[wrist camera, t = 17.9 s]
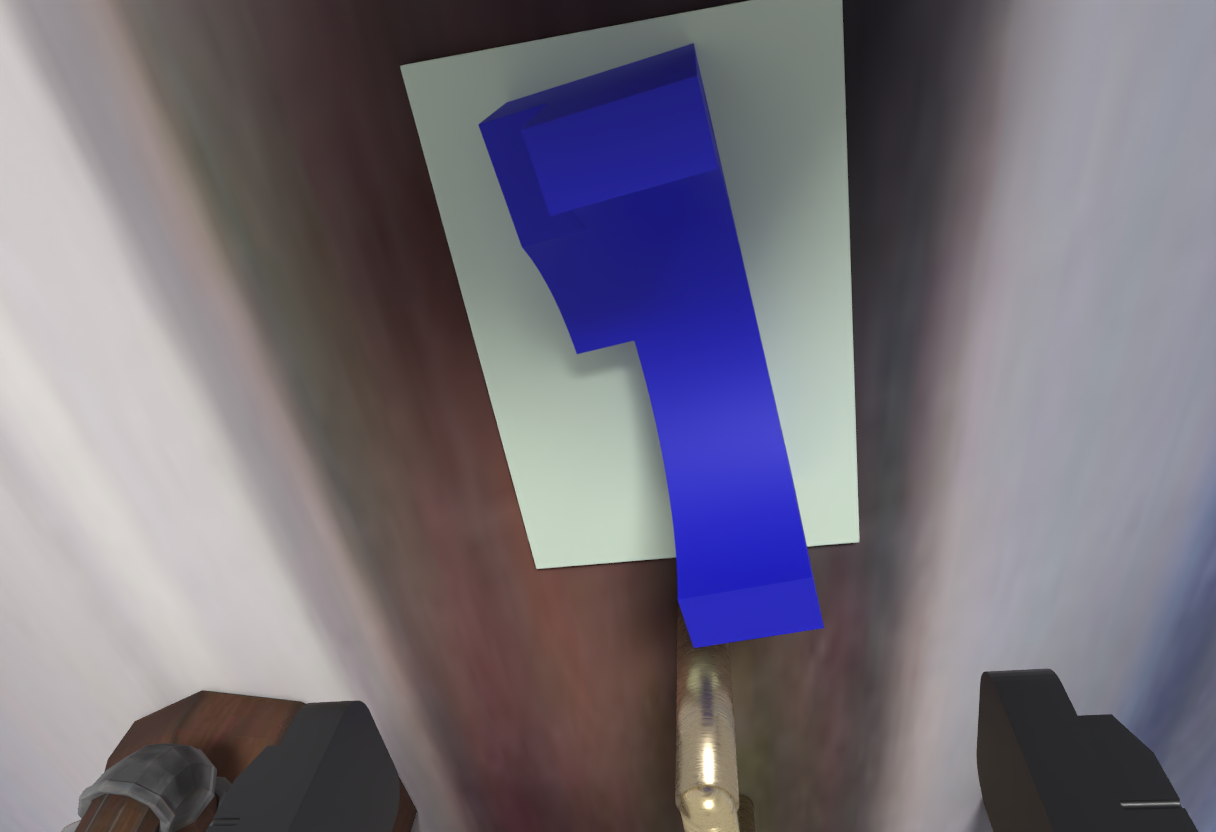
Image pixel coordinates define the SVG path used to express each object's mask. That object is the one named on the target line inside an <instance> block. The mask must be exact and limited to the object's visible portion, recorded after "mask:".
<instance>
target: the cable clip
mask: <svg viewBox="0 0 1216 832" xmlns="http://www.w3.org/2000/svg"><path fill="white" fill-rule="evenodd" d="M478 125H479V128H480V131H481V134H482V137H483V139H484V142H485V145H486V148H487V151H488V154H489V156H490V159H491V162H492V165H493V168H494V170H495V173H496V176H497V179H498V182H499V184H500V187H501V190H502V193H503V196H504V199H505V201H506V204H507V207H508V210H509V213H510V215H511V218H512V221H513V224H514V227H515V229H516V232H517V235H518V238H519V241H520V244H521V246H522V248H523V249H524V250H525V252H526V253H527V254H528V256H529V257H530V258H531V260H532V261H533V263H534V264H535V266H536V267H537V269H538V270H539V272H540V273H541V275H542V277H543V279H544V280H545V282H546V284H547V286H548V288H549V290H550V292H551V293H552V295H553V297H554V299H555V302H556V304H557V306H558V308H559V310H560V312H561V315H562V317H563V320H564V322H565V324H566V327H567V329H568V332H569V334H570V337H571V340H572V342H573V345H574V348H575V350H576V353H577V354H580V353H585V352H589V351H593V350H597V349H601V348H605V347H609V346H614V345H618V344H622V343H626V342H630V341H634V342H635V345H636V348H637V352H638V355H639V359H640V362H641V366H642V370H643V373H644V377H645V381H646V385H647V389H648V393H649V397H650V401H651V405H652V409H653V414H654V418H655V422H656V427H657V432H658V436H659V441H660V446H661V451H662V457H663V462H664V468H665V473H666V479H667V485H668V492H669V498H670V505H671V512H672V520H673V529H674V538H675V549H676V562H677V582H678V602H679V605H680V608H681V611H682V614H683V617H684V620H685V623H686V626H687V629H688V632H689V635H690V638H691V641H692V644H693V647H694V648H698V647H704V646H711V645H717V644H724V643H730V642H737V641H743V640H749V639H756V638H762V637H769V636H775V635H781V634H788V633H794V632H801V631H807V630H814V629H820V628H824V626H823V621H822V616H821V611H820V606H819V602H818V597H817V592H816V587H815V582H814V578H813V573H812V568H811V563H810V558H809V554H808V549H807V544H806V539H805V534H804V530H803V525H802V520H801V515H800V510H799V506H798V501H797V496H796V491H795V486H794V482H793V477H792V473H791V468H790V464H789V459H788V455H787V451H786V446H785V442H784V437H783V433H782V429H781V424H780V420H779V416H778V411H777V407H776V402H775V398H774V394H773V389H772V385H771V380H770V376H769V372H768V367H767V363H766V358H765V354H764V350H763V345H762V341H761V336H760V332H759V328H758V323H757V319H756V314H755V310H754V306H753V301H752V297H751V293H750V288H749V284H748V279H747V275H746V271H745V266H744V262H743V257H742V253H741V249H740V244H739V240H738V235H737V231H736V227H735V222H734V218H733V213H732V209H731V205H730V200H729V196H728V191H727V187H726V183H725V178H724V174H723V170H722V165H721V161H720V156H719V152H718V148H717V143H716V139H715V134H714V130H713V126H712V121H711V117H710V112H709V108H708V104H707V99H706V95H705V90H704V86H703V82H702V77H701V73H700V68H699V64H698V60H697V55H696V51H695V47H694V43H693V44H689V45H686V46H683V47H680V48H677V49H674V50H670V51H667V52H664V53H661V54H658V55H655V56H651V57H648V58H645V59H642V60H639V61H636V62H633V63H629V64H626V65H623V66H620V67H617V68H614V69H610V70H607V71H604V72H601V73H598V74H595V75H591V76H588V77H585V78H582V79H579V80H576V81H573V82H569V83H566V84H563V85H560V86H557V87H554V88H550V89H547V90H544V91H541V92H538V93H535V94H531V95H528V96H525V97H522V98H519V99H516V100H513V101H509V102H506V103H505V104H504V105H503V106H501V107H500V108H499V109H497V110H496V111H495V112H494V113H492V114H491V115H490V116H488V117H487V118H486V119H485V120H483V121H482V122H481V123H480V124H478Z"/></svg>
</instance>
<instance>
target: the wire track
mask: <svg viewBox="0 0 1216 832" xmlns="http://www.w3.org/2000/svg"><path fill="white" fill-rule="evenodd" d="M676 807H677V809H678V810H679V812H680V813H681V815H682V820H683V825H684V830H685V832H755V821H754V809H753V803H752V801H751V800H750V799H749V798H748V797H746V796H744V795H742V794H739V789H738V774H737V759H736V743H735V728H734V713H733V697H732V682H731V667H730V651H729V643H724V644H717V645H711V646H704V647H698V648H694V647H693V644H692V641H691V638H690V635H689V632H688V629H687V626H686V623H685V620H684V617H683V614H682V611H681V608H680V605H678V620H677V711H676Z"/></svg>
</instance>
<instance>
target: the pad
mask: <svg viewBox="0 0 1216 832" xmlns="http://www.w3.org/2000/svg"><path fill="white" fill-rule="evenodd" d="M693 43H694V47H695V51H696V55H697V60H698V64H699V68H700V73H701V77H702V82H703V86H704V90H705V95H706V99H707V104H708V108H709V112H710V117H711V121H712V126H713V130H714V134H715V139H716V143H717V148H718V152H719V156H720V161H721V165H722V170H723V174H724V178H725V183H726V187H727V191H728V196H729V200H730V205H731V209H732V213H733V218H734V222H735V227H736V231H737V235H738V240H739V244H740V249H741V253H742V257H743V262H744V266H745V271H746V275H747V279H748V284H749V288H750V293H751V297H752V301H753V306H754V310H755V314H756V319H757V323H758V328H759V332H760V336H761V341H762V345H763V350H764V354H765V358H766V363H767V367H768V372H769V376H770V380H771V385H772V389H773V394H774V398H775V402H776V407H777V411H778V416H779V420H780V424H781V429H782V433H783V437H784V442H785V446H786V451H787V455H788V459H789V464H790V468H791V473H792V477H793V482H794V486H795V491H796V496H797V501H798V506H799V510H800V515H801V520H802V525H803V530H804V534H805V539H806V544H807V546H819V545H831V544H843V543H855V542H859V516H858V484H857V452H856V420H855V388H854V357H853V325H852V293H851V261H850V229H849V198H848V166H847V134H846V102H845V70H844V38H843V7H842V0H748V1H742V2H737V3H732V4H726V5H721V6H716V7H710V8H705V9H700V10H694V11H689V12H684V13H678V14H673V15H668V16H662V17H657V18H652V19H646V20H641V21H636V22H630V23H625V24H619V25H614V26H609V27H603V28H598V29H593V30H587V31H582V32H577V33H571V34H566V35H561V36H555V37H550V38H545V39H539V40H534V41H529V42H523V43H518V44H513V45H507V46H502V47H496V48H491V49H486V50H480V51H475V52H470V53H464V54H459V55H454V56H448V57H443V58H438V59H432V60H427V61H422V62H416V63H411V64H406V65H402V66H400V68H401V72H402V76H403V79H404V83H405V87H406V90H407V94H408V98H409V101H410V105H411V109H412V112H413V116H414V120H415V124H416V127H417V131H418V135H419V138H420V142H421V146H422V149H423V153H424V157H425V160H426V164H427V168H428V171H429V175H430V179H431V182H432V186H433V190H434V193H435V197H436V201H437V204H438V208H439V212H440V215H441V219H442V223H443V227H444V230H445V234H446V238H447V241H448V245H449V249H450V252H451V256H452V260H453V263H454V267H455V271H456V274H457V278H458V282H459V285H460V289H461V293H462V296H463V300H464V304H465V307H466V311H467V315H468V319H469V322H470V326H471V330H472V333H473V337H474V341H475V344H476V348H477V352H478V355H479V359H480V363H481V366H482V370H483V374H484V377H485V381H486V385H487V388H488V392H489V396H490V399H491V403H492V407H493V411H494V414H495V418H496V422H497V425H498V429H499V433H500V436H501V440H502V444H503V447H504V451H505V455H506V458H507V462H508V466H509V469H510V473H511V477H512V480H513V484H514V488H515V491H516V495H517V499H518V503H519V506H520V510H521V514H522V517H523V521H524V525H525V528H526V532H527V536H528V539H529V543H530V547H531V550H532V554H533V558H534V561H535V565H536V569H542V568H554V567H566V566H578V565H590V564H602V563H614V562H626V561H638V560H650V559H662V558H674V557H676V549H675V538H674V529H673V520H672V512H671V505H670V498H669V492H668V485H667V479H666V473H665V468H664V462H663V457H662V451H661V446H660V441H659V436H658V432H657V427H656V422H655V418H654V414H653V409H652V405H651V401H650V397H649V393H648V389H647V385H646V381H645V377H644V373H643V370H642V366H641V362H640V359H639V355H638V352H637V348H636V345H635V342H634V341H630V342H626V343H622V344H618V345H614V346H609V347H605V348H601V349H597V350H593V351H589V352H585V353H580V354H577V353H576V350H575V348H574V345H573V342H572V340H571V337H570V334H569V332H568V329H567V327H566V324H565V322H564V320H563V317H562V315H561V312H560V310H559V308H558V306H557V304H556V302H555V299H554V297H553V295H552V293H551V292H550V290H549V288H548V286H547V284H546V282H545V280H544V279H543V277H542V275H541V273H540V272H539V270H538V269H537V267H536V266H535V264H534V263H533V261H532V260H531V258H530V257H529V256H528V254H527V253H526V252H525V250H524V249H523V248H522V246H521V244H520V241H519V238H518V235H517V232H516V229H515V227H514V224H513V221H512V218H511V215H510V213H509V210H508V207H507V204H506V201H505V199H504V196H503V193H502V190H501V187H500V184H499V182H498V179H497V176H496V173H495V170H494V168H493V165H492V162H491V159H490V156H489V154H488V151H487V148H486V145H485V142H484V139H483V137H482V134H481V131H480V128H479V125H478V124H480V123H481V122H482V121H483V120H485V119H486V118H487V117H488V116H490V115H491V114H492V113H494V112H495V111H496V110H497V109H499V108H500V107H501V106H503V105H504V104H505V103H506V102H509V101H513V100H516V99H519V98H522V97H525V96H528V95H531V94H535V93H538V92H541V91H544V90H547V89H550V88H554V87H557V86H560V85H563V84H566V83H569V82H573V81H576V80H579V79H582V78H585V77H588V76H591V75H595V74H598V73H601V72H604V71H607V70H610V69H614V68H617V67H620V66H623V65H626V64H629V63H633V62H636V61H639V60H642V59H645V58H648V57H651V56H655V55H658V54H661V53H664V52H667V51H670V50H674V49H677V48H680V47H683V46H686V45H689V44H693Z"/></svg>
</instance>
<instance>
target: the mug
mask: <svg viewBox="0 0 1216 832" xmlns="http://www.w3.org/2000/svg"><path fill="white" fill-rule="evenodd" d="M304 705H305V704H303V703H301V702H297V701H288V700H279V699H271V698H262V697H253V696H244V695H235V694H227V693H218V692H209V691H200V692H198V693H196V694H193V695H191V696H189V697H187V698H185V699H183V700H180V701H178V702H176V703H174V704H172V705H170V706H167V707H165V708H163V709H161V710H159V711H157V712H154V713H152V714H150V715H148V716H146V717H144V718H141V719H139V720H137V721H135V722H134V723H133V725H132V726H131V728H130V729H129V730H128V732H127V733H126V735H125V736H124V737H123V739H122V740H121V742H120V743H119V744H118V746H117V747H116V749H115V750H114V752H113V753H112V754H111V756H110V757H109V759H108V761H107V765H106V769H105V772H104V773H103V774H102V776H101V777H100V778H99V779H98V780H97V781H96V782H95V783H94V784H93V785H92V786H90V787H88V788H86V789H85V790H84V791H83V793H82V794H81V796H80V798H79V808H78V815H79V816H80V817H81V818H82V819H81V820H79V821H77V822H74V823H72V824H70V825H68V826H66V827H64V829H63V830H62V831H61V832H205V831H206V830H207V828H208V826H212V825H213V821H214V820H213V817H214V816H215V814H216V812H217V810H218V808H219V807H220V805H221V803H222V801H223V800H224V798H225V796H226V794H227V793H228V791H229V789H230V787H231V785H232V784H233V782H234V780H235V779H236V778H237V777H238V776H239V775H240V774H241V773H242V772H243V771H244V770H245V768H246V767H247V766H248V765H249V764H250V763H251V762H252V761H253V760H254V759H255V758H256V757H257V756H258V755H259V754H260V753H261V752H262V751H263V750H264V749H265V748H266V747H267V746H273V745H280V743H281V741H282V739H283V737H284V735H285V734H286V732H287V730H288V728H289V726H290V724H291V722H292V720H293V719H294V717H295V715H296V713H297V712H298V711H299V710H300V708H301V707H303V706H304ZM399 785H400V799H399V808H398V813H397V817H396V820H395V824H394V826H393V829H392V832H411V828H412V825H413V822H414V819H415V815H416V812H417V811H416V810H415V808H414V806H413V804H412V802H411V800H410V798H409V797H408V795H407V793H406V791H405V789H404V787H403V785H402V784H401V782H400V780H399Z"/></svg>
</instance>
